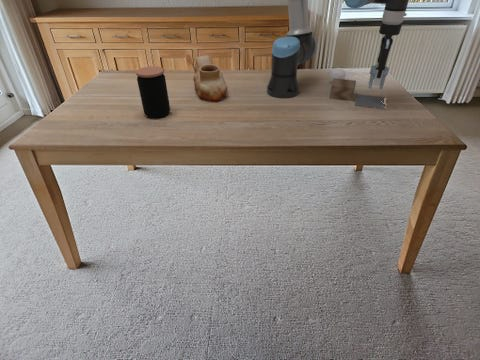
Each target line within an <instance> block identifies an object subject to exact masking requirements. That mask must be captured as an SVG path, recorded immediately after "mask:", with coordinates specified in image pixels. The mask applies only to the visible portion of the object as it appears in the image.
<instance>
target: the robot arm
mask: <svg viewBox="0 0 480 360" xmlns="http://www.w3.org/2000/svg"><path fill="white" fill-rule="evenodd" d="M409 1H410V0H344V3H345V5H346V6H347V7H348V8H350V9H360V8H362V7H364V6H367V5H370V4H379V5H385V6H384V10H383V13H382V17H381V23H380V25H379V31H378V32H379V34H380V35H383V36H382V38H381V41H380V47H379V48H380V49H379V53H378V57H377V61H376V65H378V67H377V68H376V69H375V70H376V74H375V76H374V80H373V84H372V86H378V87H380V83H381V79H382V76H383V72H384V70H385V66H386V67H387V62H388V58H389V54H390V51H391V48H392V45H393V44H394V43H393V42H394V39H393V36H398V35H400V34H401V30H402V26H403V25H402V23H403V22H404V20H405V19H404V18H405V17H406V16H407V15H408V14H407V13H406V11H407V9H408V5H409ZM287 9H288V23H289V24H288V25H289V31H288V32H286V36H284V37H279V38H277V39H275V40H274V42H273V43H272V49H271V70H270V71H271V72H270V78H269V81H268V83H267V85H266V93H267V95H269V96H271V97H274V98H279V99H287V98H294V97H296V96H297V95H299V91H300V87H299V83H298V76H297V75H298V74H297V73H298V66H299V65H301V64H303V63H306V62H308V61H309V60H310V59H312V57H314V55H315V54H316V51H317V47H318V45H317V40H316V38H315V37H314V36H313V29H312V28H310V26H309V0H287ZM382 66H383V67H382Z"/></svg>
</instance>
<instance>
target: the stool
mask: <svg viewBox="0 0 480 360" xmlns="http://www.w3.org/2000/svg"><path fill="white" fill-rule="evenodd" d="M377 67H378V65H377V64H376V65H371V66H370V71H369V74H370V77H369V81H368V87H367V89H372V87H373V82H374V76H375V74H376V70H375V69H376V68H377ZM382 67H383V66H382ZM389 71H390V67H388V66H387V65H386V66H385V70H384V72H383V76H382V79H381V83H380V86H378V87H379V90H381V91H382V90H384V89H383V88H384V84H385V82H386V78H387V76H388V75H389Z"/></svg>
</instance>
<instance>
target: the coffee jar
mask: <svg viewBox="0 0 480 360" xmlns="http://www.w3.org/2000/svg"><path fill="white" fill-rule="evenodd" d="M164 73H165V69H164V68H163V67H160V66H154V65H153V66H144V67H141V68H138V69H137V70H135V75H136V76H137V78H136V81H137V85H138V91H139V95H140V100H141V104H142V109H143V110H142V111H143V112H144V113H143V114H144V115H145V117H147V118H149V119H151V120H152V119H153V120H160V119H163V118H166V117H168V116H169V115H170V113H171V107H170V100H169V93H168V86H167V81H166V76H165V74H164Z"/></svg>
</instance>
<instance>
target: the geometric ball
mask: <svg viewBox="0 0 480 360" xmlns="http://www.w3.org/2000/svg"><path fill="white" fill-rule="evenodd" d="M346 76H347V74H346V71H345V70H344V69H343V68H340V67H335V68H333V69H331V71H330V73H329V76H328V79H329V81H330V82H331V84H332V83H333V79H334V78H335V79H345V80H346Z"/></svg>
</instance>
